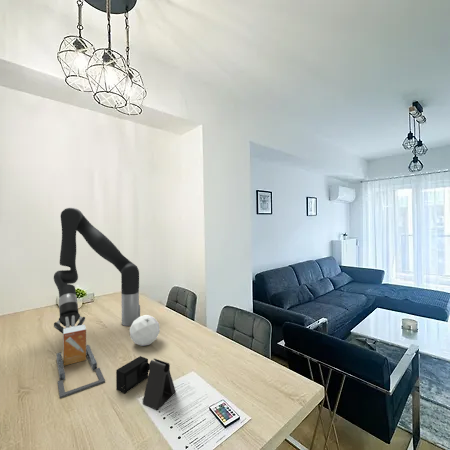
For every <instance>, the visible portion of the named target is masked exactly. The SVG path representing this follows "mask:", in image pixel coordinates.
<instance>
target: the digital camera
mask: <svg viewBox="0 0 450 450" xmlns="http://www.w3.org/2000/svg"><path fill="white" fill-rule="evenodd" d="M149 364H150V362H149V358H146V357H144V356H141V355H140V356H138V357H136V358H133V360H130V361H129V362H128V363H126V364H124V365H122V366H120V367H118V368H117V369H115V375H116V376H115V377H116V379H115V381H116V382H115V383H116V391H118V392H120V393H122V394H126V393H128V392H130V391H131V390H132V389H134V388H136V386H138V385H139V384H141V383H143V382H144V381H145V380H146V379H147V380H148V375H149V370H150V368H149Z"/></svg>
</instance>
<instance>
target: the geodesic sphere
mask: <svg viewBox="0 0 450 450" xmlns="http://www.w3.org/2000/svg"><path fill="white" fill-rule="evenodd" d="M160 331H161V330H160V322H158V320H157V319H156V318H155V317H154V316H152V315H150V314H144V315H140V317H139V318H137V319H136V320H134V321H133V323H132V325H131V326H129V336H130V339H131V341H132V342H133V343H134V344H136V345H138V346H141V347H145V346H149V345H151V344H152V343H153V342H155V341H157V339H158V336H159V334H160Z"/></svg>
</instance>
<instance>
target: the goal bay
mask: <svg viewBox="0 0 450 450" xmlns="http://www.w3.org/2000/svg"><path fill="white" fill-rule="evenodd" d="M94 371H95V373H96V376H97V379H98V380H96V381H93V382H91V383H87V384H85V385H82V386H79V387H76V388H74V389H70V390H68V391H65V385H64V380H63V379H62V380H60V379H59V380H57V387H58V388H57V389H58V395H59V399H62V398H65V397H67V396H71V395H73V394H77V393H79V392H82V391H85V390H87V389H91V388H93V387H95V386H99V385H101V384H103V383H106V380H105V377H104V375H103V372H102V370H101V368H100V367H97V369H95V370H94Z"/></svg>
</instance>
